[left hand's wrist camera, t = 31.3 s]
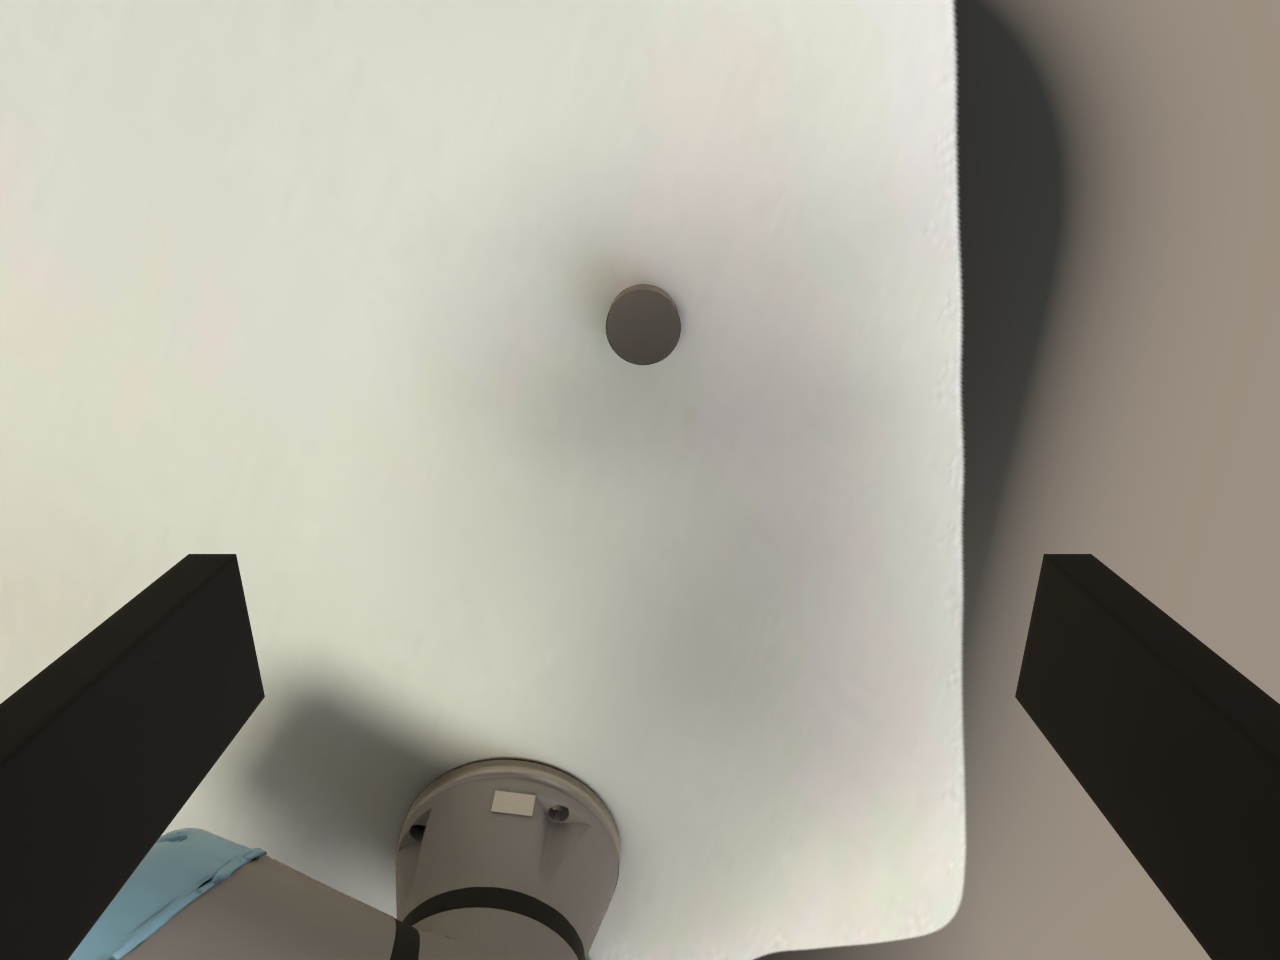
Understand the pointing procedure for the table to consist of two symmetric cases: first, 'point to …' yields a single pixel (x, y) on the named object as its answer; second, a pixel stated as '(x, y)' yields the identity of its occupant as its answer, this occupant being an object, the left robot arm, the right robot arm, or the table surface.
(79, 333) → the table surface
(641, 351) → the cap
